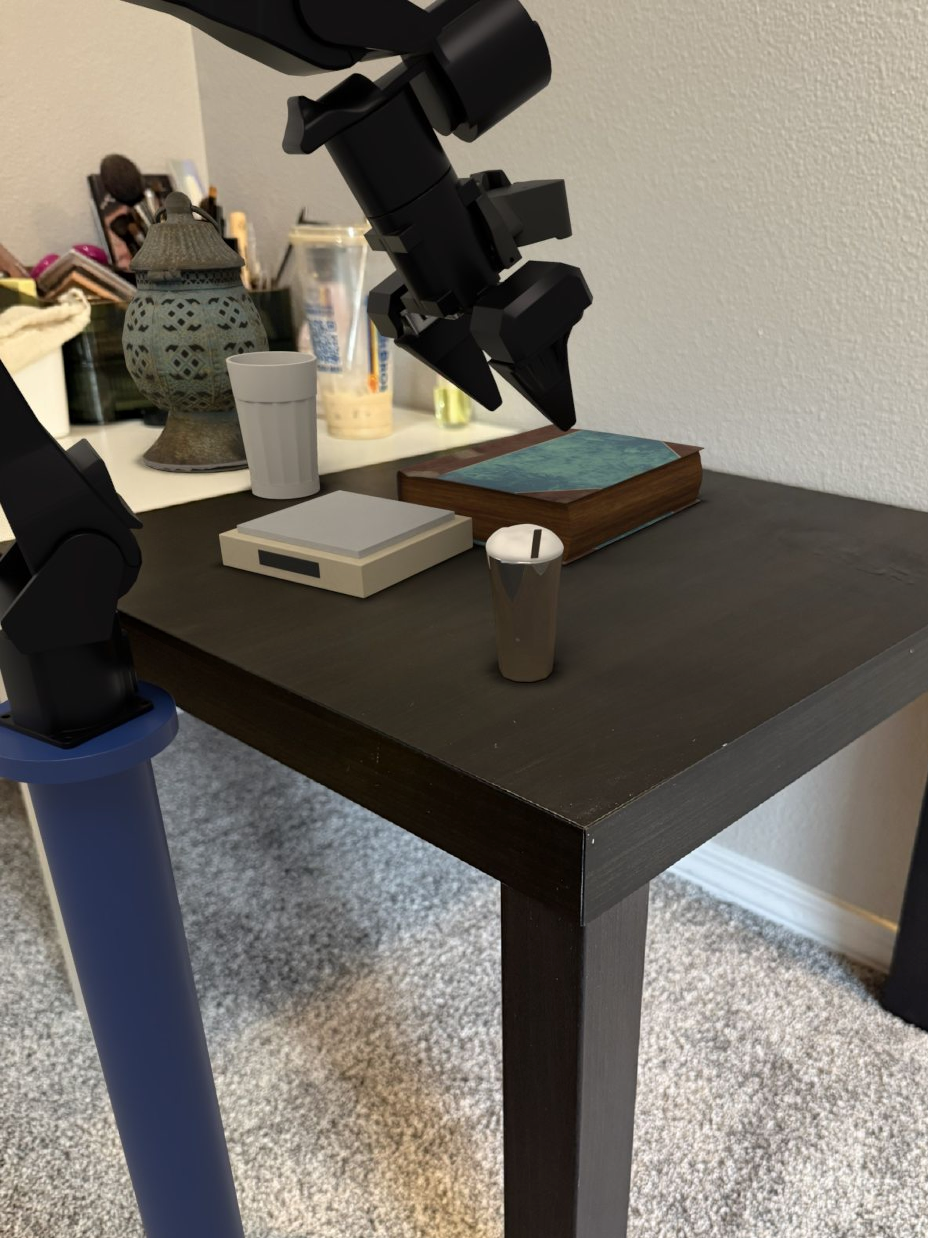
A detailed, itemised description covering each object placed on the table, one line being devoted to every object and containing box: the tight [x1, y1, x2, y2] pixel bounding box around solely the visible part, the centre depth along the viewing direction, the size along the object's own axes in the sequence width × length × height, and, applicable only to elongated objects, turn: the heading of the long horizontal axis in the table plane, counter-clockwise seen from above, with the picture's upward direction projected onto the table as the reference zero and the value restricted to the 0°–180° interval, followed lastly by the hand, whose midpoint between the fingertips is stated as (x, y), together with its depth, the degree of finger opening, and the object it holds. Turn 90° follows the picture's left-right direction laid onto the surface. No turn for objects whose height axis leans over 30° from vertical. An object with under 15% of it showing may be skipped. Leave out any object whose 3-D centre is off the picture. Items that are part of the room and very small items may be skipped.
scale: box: [218, 489, 474, 599], centre depth 86 cm, size 14×14×3 cm
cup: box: [226, 350, 321, 500], centre depth 101 cm, size 8×8×12 cm
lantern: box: [121, 191, 270, 474], centre depth 109 cm, size 14×14×25 cm
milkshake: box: [485, 524, 564, 683], centre depth 65 cm, size 4×5×10 cm
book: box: [396, 423, 705, 566], centre depth 96 cm, size 23×18×5 cm
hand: (531, 416), depth 72 cm, fingers open, 9 cm apart
